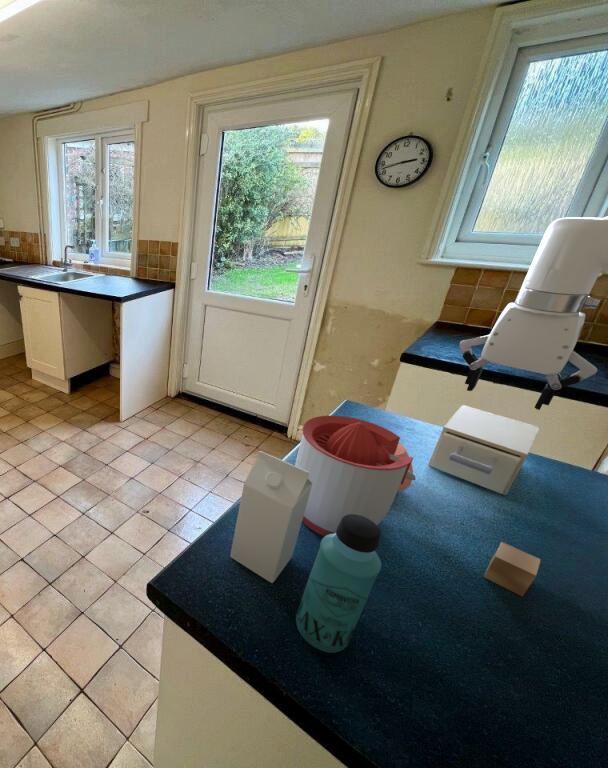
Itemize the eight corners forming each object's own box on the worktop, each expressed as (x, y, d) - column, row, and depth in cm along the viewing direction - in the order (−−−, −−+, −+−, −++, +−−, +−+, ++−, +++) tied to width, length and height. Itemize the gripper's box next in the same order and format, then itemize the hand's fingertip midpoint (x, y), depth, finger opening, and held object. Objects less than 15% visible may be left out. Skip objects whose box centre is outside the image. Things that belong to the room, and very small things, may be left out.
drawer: (495, 507, 75) (513, 473, 72) (421, 477, 83) (435, 444, 80) (515, 466, 86) (531, 434, 83) (448, 442, 94) (461, 413, 91)
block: (527, 580, 63) (541, 559, 61) (522, 596, 60) (536, 575, 58) (489, 561, 66) (501, 541, 64) (483, 577, 63) (495, 556, 61)
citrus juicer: (406, 565, 65) (453, 461, 57) (287, 540, 70) (314, 441, 61) (377, 500, 79) (411, 408, 70) (279, 483, 83) (300, 395, 75)
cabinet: (505, 495, 80) (528, 454, 76) (427, 465, 88) (443, 426, 84) (519, 465, 88) (540, 427, 84) (446, 440, 97) (462, 404, 93)
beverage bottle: (286, 611, 58) (318, 501, 50) (336, 617, 57) (378, 506, 49) (300, 659, 52) (340, 543, 44) (356, 666, 52) (408, 550, 43)
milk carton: (250, 533, 71) (270, 441, 63) (292, 557, 67) (319, 461, 58) (229, 557, 67) (247, 461, 58) (272, 584, 62) (298, 484, 54)
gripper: (633, 308, 62) (575, 409, 69) (483, 288, 74) (448, 376, 82) (632, 317, 58) (570, 424, 65) (473, 295, 70) (437, 387, 77)
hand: (502, 397), depth 73 cm, fingers open, 8 cm apart
